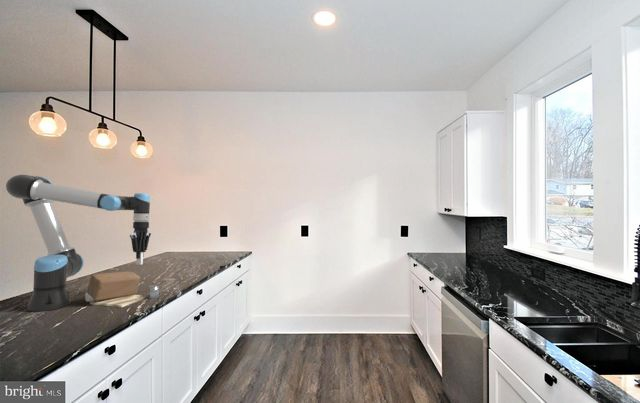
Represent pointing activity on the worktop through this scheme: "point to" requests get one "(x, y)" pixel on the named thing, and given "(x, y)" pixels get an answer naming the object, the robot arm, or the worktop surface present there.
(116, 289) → the wooden block
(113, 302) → the board
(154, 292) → the grey ball
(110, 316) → the worktop surface
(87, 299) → the white rounded lump
